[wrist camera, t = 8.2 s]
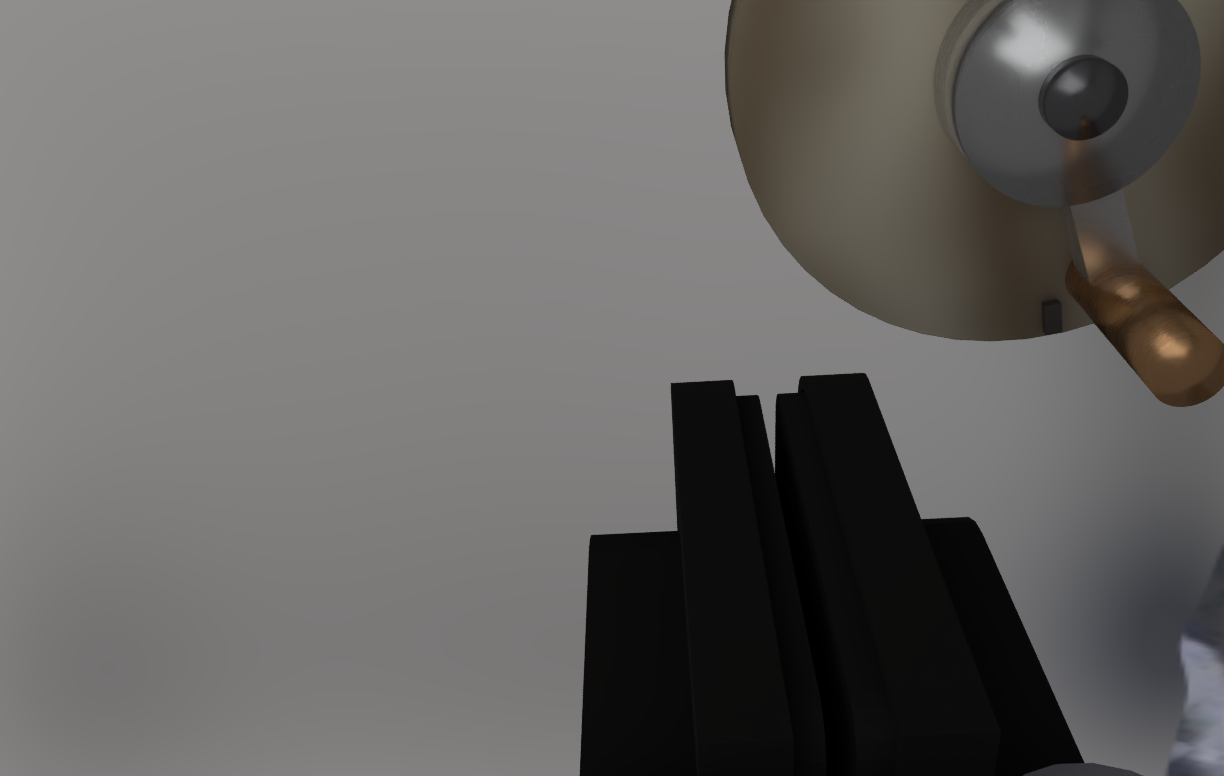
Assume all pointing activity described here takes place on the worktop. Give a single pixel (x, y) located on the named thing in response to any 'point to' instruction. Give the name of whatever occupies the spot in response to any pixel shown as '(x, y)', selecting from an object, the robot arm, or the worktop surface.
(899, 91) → the stand
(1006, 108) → the crank with wooden handle
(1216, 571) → the worktop surface
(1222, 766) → the worktop surface
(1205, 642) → the worktop surface
